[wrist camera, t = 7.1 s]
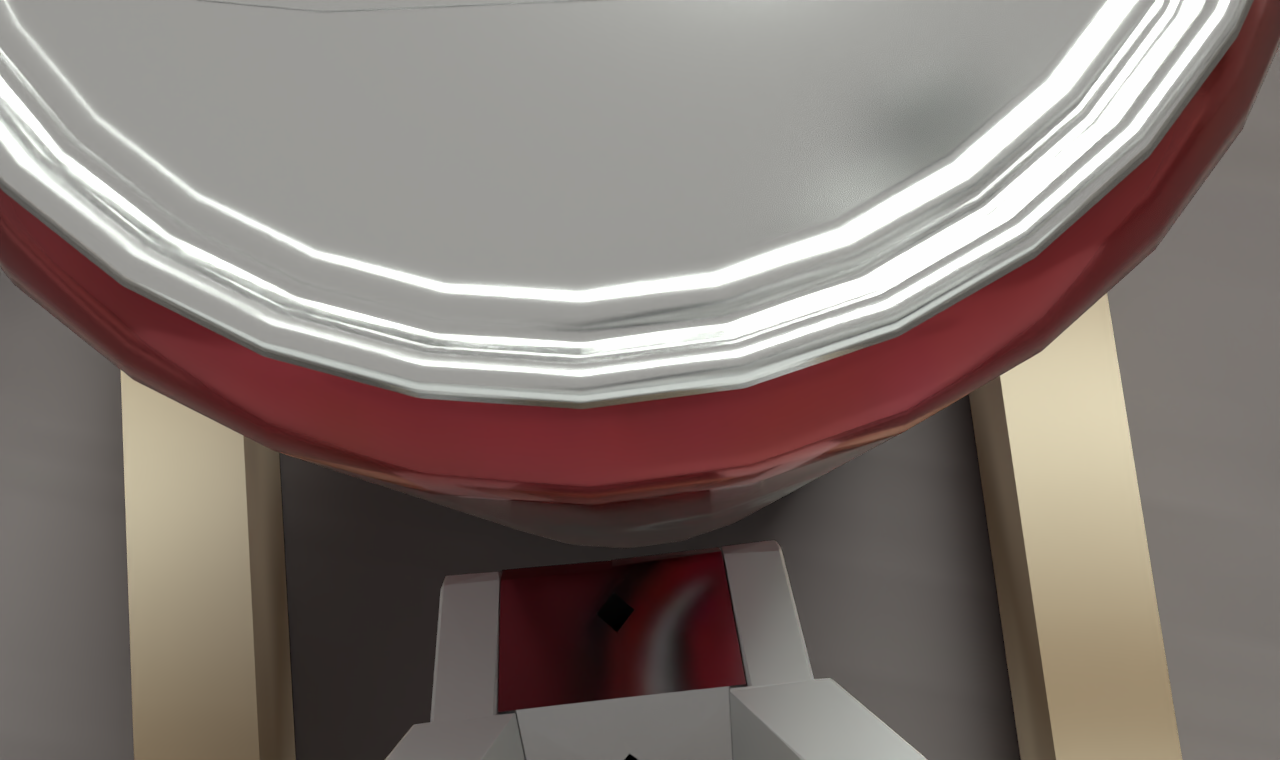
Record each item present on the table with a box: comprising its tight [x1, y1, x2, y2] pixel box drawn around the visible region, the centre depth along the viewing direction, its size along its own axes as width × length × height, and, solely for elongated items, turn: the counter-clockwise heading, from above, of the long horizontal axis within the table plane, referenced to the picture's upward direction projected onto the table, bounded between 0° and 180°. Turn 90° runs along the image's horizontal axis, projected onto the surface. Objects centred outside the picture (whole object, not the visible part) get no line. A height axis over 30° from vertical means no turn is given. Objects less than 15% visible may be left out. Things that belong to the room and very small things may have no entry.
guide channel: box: [121, 293, 1182, 760], centre depth 15 cm, size 16×12×2 cm
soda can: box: [0, 0, 1280, 548], centre depth 11 cm, size 7×7×12 cm
